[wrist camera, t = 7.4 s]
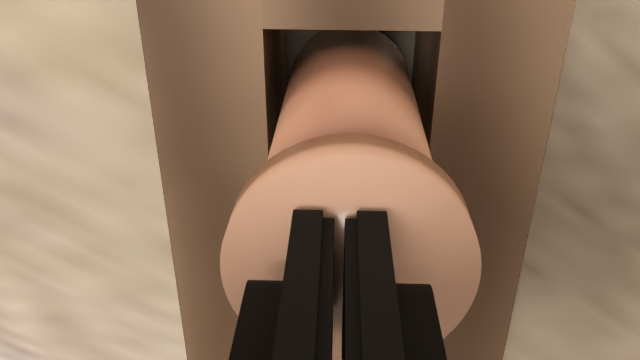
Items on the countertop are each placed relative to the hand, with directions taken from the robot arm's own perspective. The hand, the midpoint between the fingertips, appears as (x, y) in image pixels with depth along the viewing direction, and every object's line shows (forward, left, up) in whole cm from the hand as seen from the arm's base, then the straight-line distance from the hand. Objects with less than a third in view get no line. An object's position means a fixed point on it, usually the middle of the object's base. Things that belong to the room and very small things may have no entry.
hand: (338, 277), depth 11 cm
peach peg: (0, 0, -11) cm, 11 cm away
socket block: (0, +5, -14) cm, 15 cm away
